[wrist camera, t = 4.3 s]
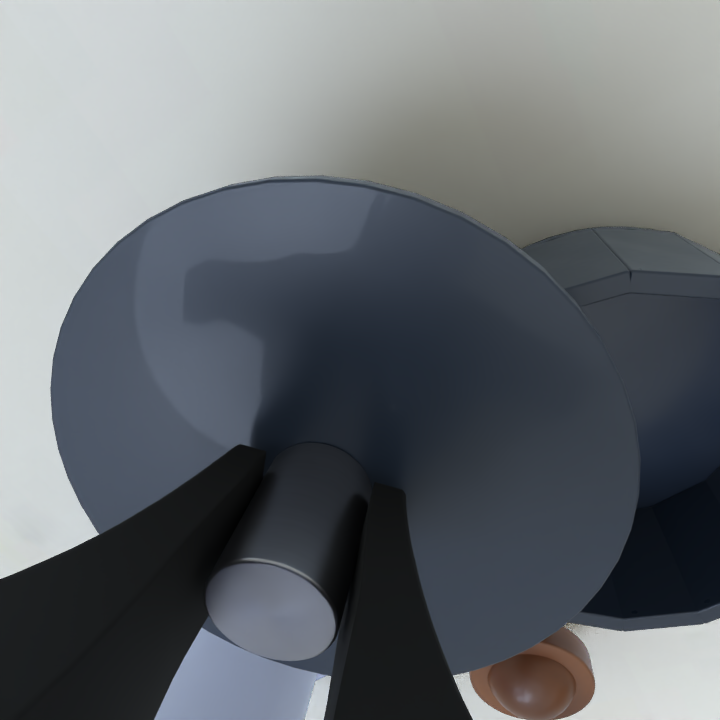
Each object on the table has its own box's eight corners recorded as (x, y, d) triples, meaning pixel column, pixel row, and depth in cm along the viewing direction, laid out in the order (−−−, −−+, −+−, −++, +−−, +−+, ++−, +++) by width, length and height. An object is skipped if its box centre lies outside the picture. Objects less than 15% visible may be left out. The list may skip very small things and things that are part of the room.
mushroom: (513, 659, 27) (521, 763, 23) (448, 598, 26) (443, 695, 22) (602, 623, 25) (629, 730, 21) (535, 555, 24) (548, 653, 20)
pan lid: (332, 698, 17) (289, 879, 13) (-6, 413, 15) (-186, 531, 11) (754, 513, 12) (901, 729, 8) (330, -2, 9) (216, -83, 5)
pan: (551, 560, 24) (571, 674, 19) (363, 368, 22) (332, 444, 17) (849, 415, 19) (978, 522, 14) (646, 142, 16) (717, 160, 12)
